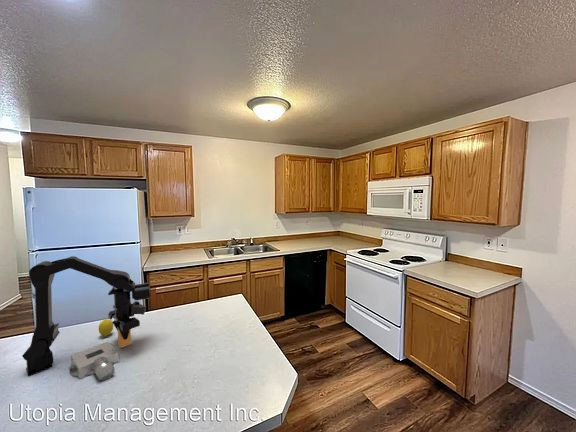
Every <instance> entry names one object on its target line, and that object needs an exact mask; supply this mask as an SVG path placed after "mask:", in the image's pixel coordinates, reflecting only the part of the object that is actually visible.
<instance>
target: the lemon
mask: <svg viewBox="0 0 576 432" xmlns="http://www.w3.org/2000/svg"><path fill="white" fill-rule="evenodd" d="M112 322H113V321H112V319H111V320H110V319H109V318H105V319H103V320H102V321H101V322H100V323H99V325H98V333H99V334H100V335H101V336H105V337H107V336H108V335H110V334H111V333H112V332H113V330H114V324H113V323H112Z"/></svg>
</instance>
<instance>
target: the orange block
mask: <svg viewBox="0 0 576 432" xmlns="http://www.w3.org/2000/svg"><path fill="white" fill-rule="evenodd" d="M131 330H132V329H130V331H129V334H128V338H127V339H126V340H124V339H123V337H122V335H121V333H120V331H119V330H118V331H117V343H118V347H119V348H121V349H122V348H124V347H125V346H128V345H131V344H132V337H131V336H132V333H131Z"/></svg>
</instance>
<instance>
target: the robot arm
mask: <svg viewBox="0 0 576 432" xmlns="http://www.w3.org/2000/svg"><path fill="white" fill-rule="evenodd" d="M69 269H70V270H74V271H76V272H79V273H82V274H86V275H88V276H91V277H94V278H96V279H100V280H101V281H104V282H106V284H108V285H110V286H112V288H111V289H110V290H109V291H108V293H107V295H108V296H111V295H113V298H114V299H113V300H114V302H113V303H114V304H113V305H112V308H113V309H114V310H113V309H112V310H111V311H109V312H108V313H107V317H108V318H107V319H109V320H111V321H112V320H113V321H112V323H113V327H115V329H116V330H117V332H118V330H119V331H120V333H121V335H122V337H123V339H124V340H126V339H127V338H128V334H129V331H130V330H132V329H134V328H137V327H138V328H139V327H140V325H141V321H140V320H139V319H138V318H136V317H135V315H142V316H143V315H145V312H146V309H147V306H146V305H144V304H141V303H140V301H142V300H146V299H151V290H150V289H151V288H150V282H144V283H140V284H139V283H137V284H136V282H135V281H134V280H132V279H131V276H130V274H129V273H128V272H127V271H123V270H116V269H110V268H105V267H103V266H100V265H98V264H95V263H92V262H90V261H86V260H84V259H81V258H79V257H77V256H74V255H73V256H68V257H66V258H61V259H57V260H52V261H49V260H44V261H41V262H39V263H37V264H36V265H34V266H32V267H31V268H30V269H29V271H28V277H29V280H30V283H31V285H32V286H33V288H34V292H35V295H34V296H35V299H34V300H35V302H34V303H35V329H34V332H33V335H32V338H31V342H30V346H29V347H28V348H27V349H26V351H24V353H23V354H22V355H21V356H22V359H24V361H26V367H25V371H26V374H27V377H30V376H33V375H34V374H38V373H40V372H43V371H46V370H48V369H51V368H53V363H54V353H53V351H52V350H51V346H52V345H53V343H54V342H55V341H56V339H57V337H58V336H59V334H60V333H61V332H60V330H59V326H60V324H59V323H56V324H55V323H54V321H53V311H52V310H53V304H52V302H53V301H52V300H53V299H52V284H53V281H54V278H55V275H56V274H57V273H61V272H63V271H65V270H69ZM131 298H132V299H131ZM132 300H134V302H132Z"/></svg>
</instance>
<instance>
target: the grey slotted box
mask: <svg viewBox="0 0 576 432" xmlns="http://www.w3.org/2000/svg"><path fill="white" fill-rule="evenodd" d="M119 357H120V354H119V351H118V350H117V349H116V348H115V347H114V346H113V344H111V343H110V342H109V341H105V342H102V343H100V344H98V345H95V346H93V347H90V348H87V349H84V350H81V351H79V352H76V353H72V354H71V355H70V362H71V366H70V367H69V374H70V375H71V376H72V377H74V378H78V379H79V380H80V379H82V378H84V377H89V376H90V377H91V376H93V375H96V377H97V378H98V380H100V381H107V380H109V379H110V378H111V377H112V376H113V375H114V374H115V367H114V365H115V364H117V363H119V362H120V359H119Z"/></svg>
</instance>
